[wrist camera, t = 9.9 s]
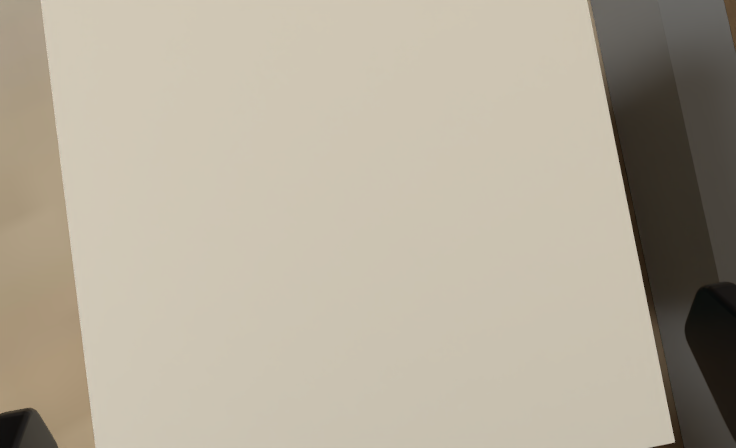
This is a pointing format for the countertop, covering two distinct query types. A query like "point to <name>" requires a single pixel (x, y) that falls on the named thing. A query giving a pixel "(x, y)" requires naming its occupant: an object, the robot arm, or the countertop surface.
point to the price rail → (678, 168)
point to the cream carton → (350, 226)
